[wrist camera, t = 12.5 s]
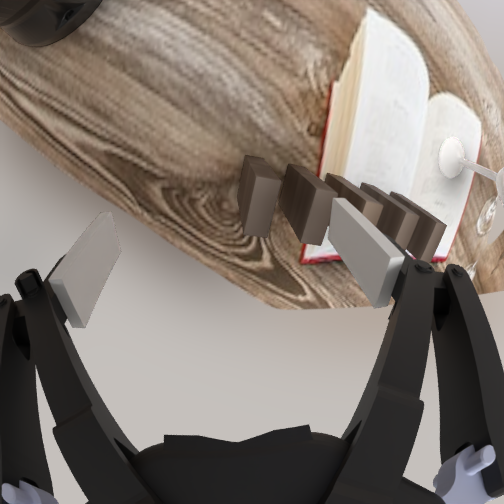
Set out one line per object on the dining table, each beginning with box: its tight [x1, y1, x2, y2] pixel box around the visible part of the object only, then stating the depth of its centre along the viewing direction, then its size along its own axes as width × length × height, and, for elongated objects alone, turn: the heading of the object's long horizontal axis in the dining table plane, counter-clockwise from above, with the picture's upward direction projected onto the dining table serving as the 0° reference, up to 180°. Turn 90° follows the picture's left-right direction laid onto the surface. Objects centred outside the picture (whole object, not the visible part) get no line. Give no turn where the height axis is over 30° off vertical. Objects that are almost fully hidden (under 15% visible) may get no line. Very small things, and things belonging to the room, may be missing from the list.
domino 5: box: [390, 192, 447, 263], centre depth 30 cm, size 2×5×10 cm, turn 168°
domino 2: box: [278, 164, 338, 246], centre depth 27 cm, size 2×5×10 cm, turn 168°
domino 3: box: [325, 173, 383, 227], centre depth 28 cm, size 2×5×10 cm, turn 168°
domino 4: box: [360, 182, 420, 250], centre depth 29 cm, size 2×5×10 cm, turn 168°
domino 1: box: [237, 155, 282, 238], centre depth 26 cm, size 2×5×10 cm, turn 168°
